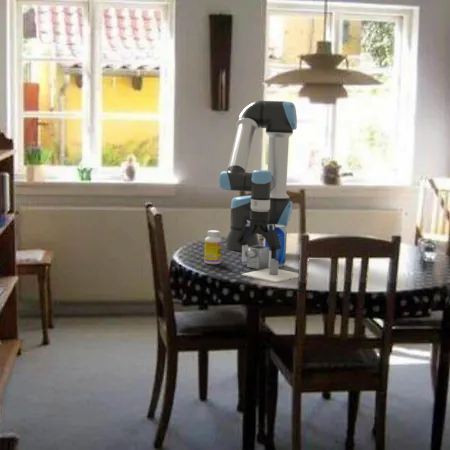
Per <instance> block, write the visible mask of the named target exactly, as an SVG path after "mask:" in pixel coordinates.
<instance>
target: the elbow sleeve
mask: <svg viewBox="0 0 450 450" xmlns="http://www.w3.org/2000/svg"><path fill="white" fill-rule="evenodd" d="M245 256H246V258H247V261H246V267H247V268H251V269H254V270H255V269H256V270H263V269H267V268H269V267H268V262H269V247H265V245H261V244H260V245H255V246H249V247H248V249H247V250H246V252H245Z"/></svg>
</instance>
